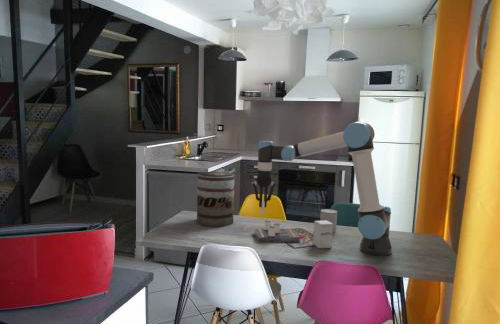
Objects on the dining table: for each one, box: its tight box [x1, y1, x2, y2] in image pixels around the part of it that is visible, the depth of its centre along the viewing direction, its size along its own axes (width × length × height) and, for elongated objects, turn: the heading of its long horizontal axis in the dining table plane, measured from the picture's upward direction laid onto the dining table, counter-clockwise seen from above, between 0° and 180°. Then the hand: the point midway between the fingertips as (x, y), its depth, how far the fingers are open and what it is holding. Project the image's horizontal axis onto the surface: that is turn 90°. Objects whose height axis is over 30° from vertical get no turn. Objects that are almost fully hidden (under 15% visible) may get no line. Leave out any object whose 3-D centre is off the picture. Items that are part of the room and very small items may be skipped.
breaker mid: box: [273, 222, 281, 233], centre depth 198 cm, size 3×3×5 cm
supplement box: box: [312, 220, 333, 249], centre depth 187 cm, size 7×7×13 cm
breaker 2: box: [268, 225, 275, 236], centre depth 192 cm, size 3×3×5 cm
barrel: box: [196, 171, 236, 228], centre depth 225 cm, size 22×22×30 cm
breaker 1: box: [263, 220, 272, 230], centre depth 203 cm, size 3×3×5 cm
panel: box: [254, 228, 301, 243], centre depth 199 cm, size 15×22×3 cm
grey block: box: [319, 208, 338, 235], centre depth 213 cm, size 10×10×12 cm
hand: (262, 213), depth 196 cm, fingers closed
